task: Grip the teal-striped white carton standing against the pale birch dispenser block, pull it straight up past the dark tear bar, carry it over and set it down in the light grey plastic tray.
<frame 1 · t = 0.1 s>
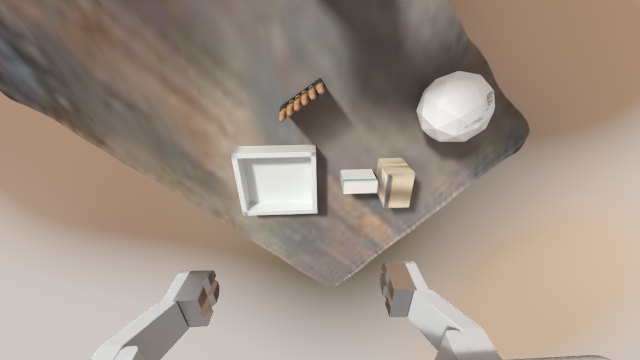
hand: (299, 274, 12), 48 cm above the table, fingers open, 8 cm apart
teal-striped white carton: (355, 174, 63), on the table
ammunition clip: (302, 95, 54), on the table
geodesic sphere: (438, 102, 56), on the table
tray: (279, 177, 63), on the table
dispenser: (387, 173, 64), on the table
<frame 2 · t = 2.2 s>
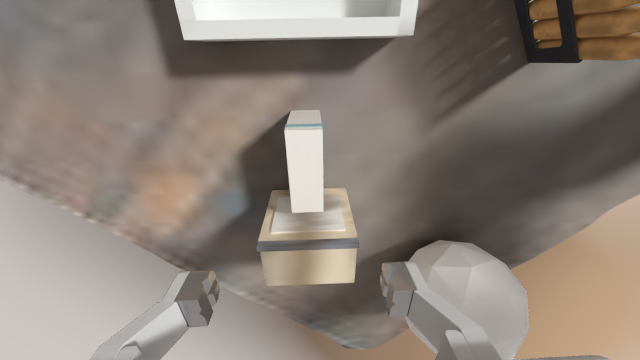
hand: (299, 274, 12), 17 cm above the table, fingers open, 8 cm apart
teal-striped white carton: (306, 146, 27), on the table
ammunition clip: (525, 1, 22), on the table
geodesic sphere: (432, 256, 36), on the table
dispenser: (309, 209, 31), on the table
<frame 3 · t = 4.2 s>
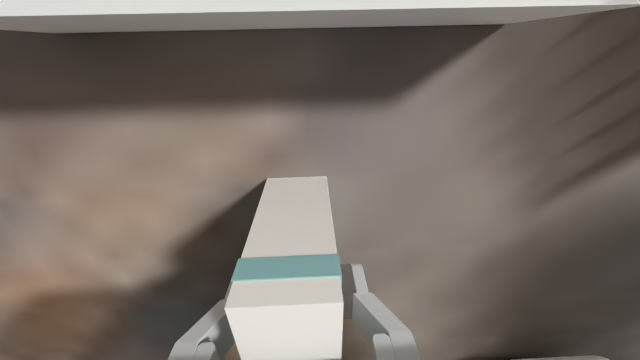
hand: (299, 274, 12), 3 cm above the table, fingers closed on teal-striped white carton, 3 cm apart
teal-striped white carton: (301, 237, 14), on the table, touching gripper
dispenser: (307, 325, 18), on the table
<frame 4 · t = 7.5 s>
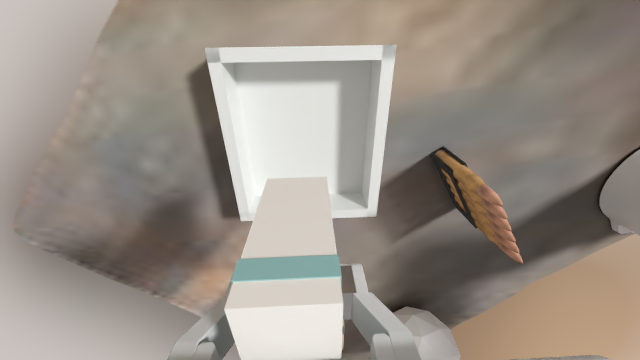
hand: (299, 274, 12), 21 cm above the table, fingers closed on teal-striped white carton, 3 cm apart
teal-striped white carton: (301, 238, 14), point 19 cm above the table, touching gripper
ammunition clip: (449, 178, 34), on the table
geodesic sphere: (403, 314, 49), on the table
tray: (306, 134, 30), on the table
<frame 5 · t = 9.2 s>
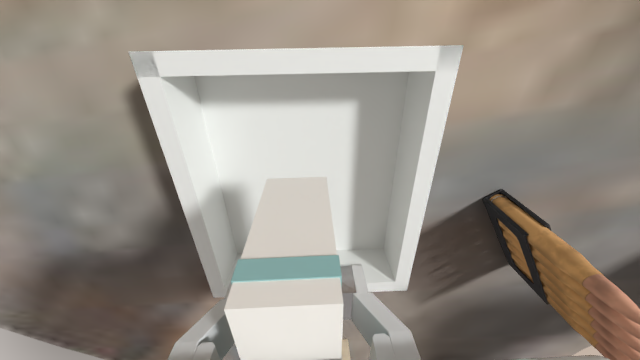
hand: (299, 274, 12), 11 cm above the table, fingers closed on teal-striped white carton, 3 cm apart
teal-striped white carton: (301, 238, 14), point 8 cm above the table, touching gripper
ammunition clip: (504, 228, 25), on the table
tray: (307, 174, 21), on the table
dispenser: (315, 352, 35), on the table
when the fingers open (6 cm above the table, at t = 10.7 s): teal-striped white carton drops 2 cm, resting on tray.
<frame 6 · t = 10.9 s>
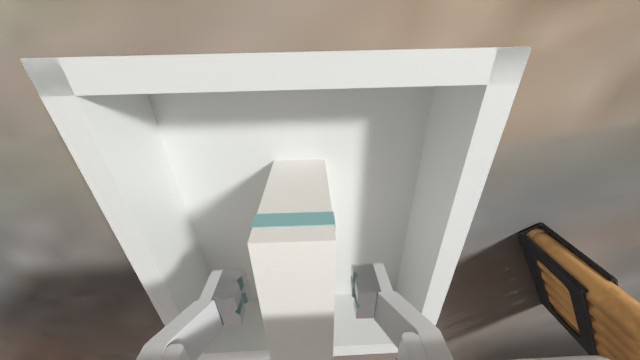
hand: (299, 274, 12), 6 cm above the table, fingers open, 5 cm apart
teal-striped white carton: (302, 214, 16), point 1 cm above the table, touching tray
ammunition clip: (539, 265, 21), on the table
tray: (301, 208, 17), on the table
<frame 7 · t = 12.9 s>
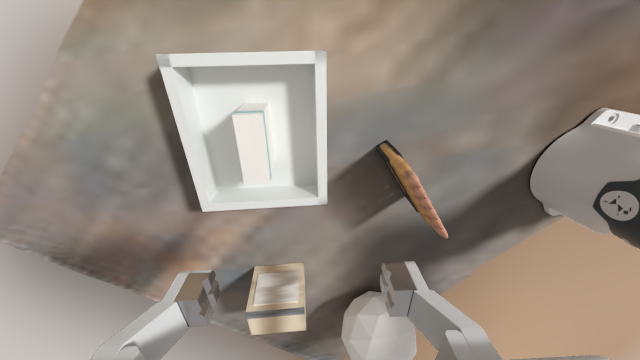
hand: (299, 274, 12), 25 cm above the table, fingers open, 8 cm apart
teal-striped white carton: (261, 132, 33), point 1 cm above the table, touching tray
ammunition clip: (395, 168, 38), on the table
geodesic sphere: (368, 299, 52), on the table
tray: (261, 131, 33), on the table
dispenser: (280, 275, 47), on the table
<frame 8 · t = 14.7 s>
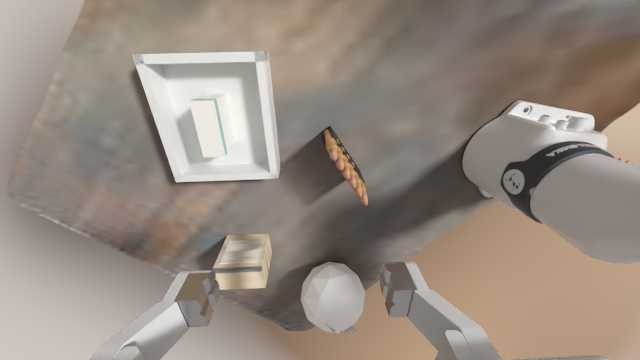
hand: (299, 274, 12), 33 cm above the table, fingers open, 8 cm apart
teal-striped white carton: (223, 118, 40), point 1 cm above the table, touching tray
ammunition clip: (341, 151, 45), on the table
geodesic sphere: (330, 270, 59), on the table
tray: (223, 117, 41), on the table
dispenser: (250, 244, 54), on the table
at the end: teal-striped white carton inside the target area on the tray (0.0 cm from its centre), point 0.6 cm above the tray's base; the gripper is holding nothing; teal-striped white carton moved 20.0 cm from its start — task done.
